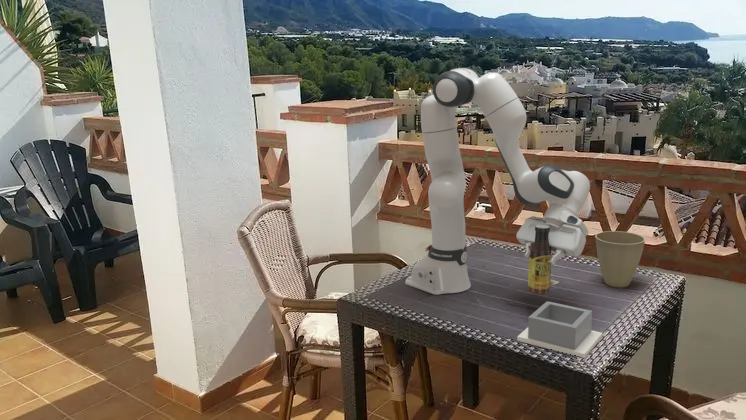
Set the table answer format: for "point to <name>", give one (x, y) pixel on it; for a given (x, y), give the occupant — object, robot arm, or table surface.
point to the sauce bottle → (540, 262)
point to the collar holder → (561, 329)
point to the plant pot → (619, 256)
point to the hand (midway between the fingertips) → (538, 260)
